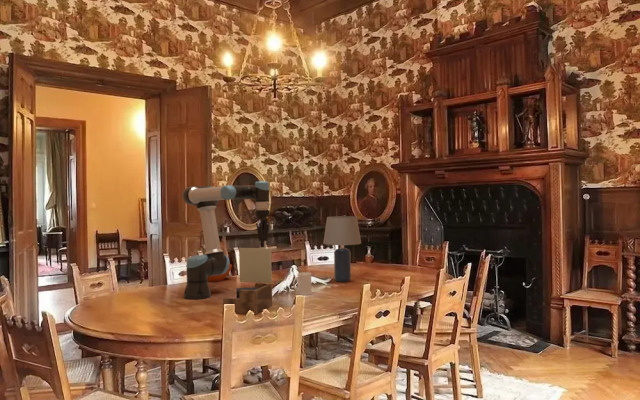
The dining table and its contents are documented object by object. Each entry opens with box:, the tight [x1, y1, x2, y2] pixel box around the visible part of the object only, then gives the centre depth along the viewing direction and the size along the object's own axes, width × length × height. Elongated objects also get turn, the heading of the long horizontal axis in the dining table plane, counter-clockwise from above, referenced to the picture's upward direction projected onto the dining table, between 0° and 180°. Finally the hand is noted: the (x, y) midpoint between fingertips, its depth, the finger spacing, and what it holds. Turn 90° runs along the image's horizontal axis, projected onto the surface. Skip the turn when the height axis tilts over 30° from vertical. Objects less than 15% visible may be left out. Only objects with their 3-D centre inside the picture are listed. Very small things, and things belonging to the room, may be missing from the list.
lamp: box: [323, 215, 362, 283], centre depth 341 cm, size 25×25×43 cm
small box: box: [235, 286, 257, 299], centre depth 262 cm, size 11×6×10 cm, turn 102°
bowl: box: [208, 263, 233, 282], centre depth 353 cm, size 25×25×10 cm
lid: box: [238, 247, 273, 284], centre depth 271 cm, size 18×18×2 cm
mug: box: [292, 272, 313, 296], centre depth 299 cm, size 12×8×12 cm
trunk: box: [222, 283, 273, 316], centre depth 262 cm, size 18×20×12 cm
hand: (263, 252), depth 280 cm, fingers closed
